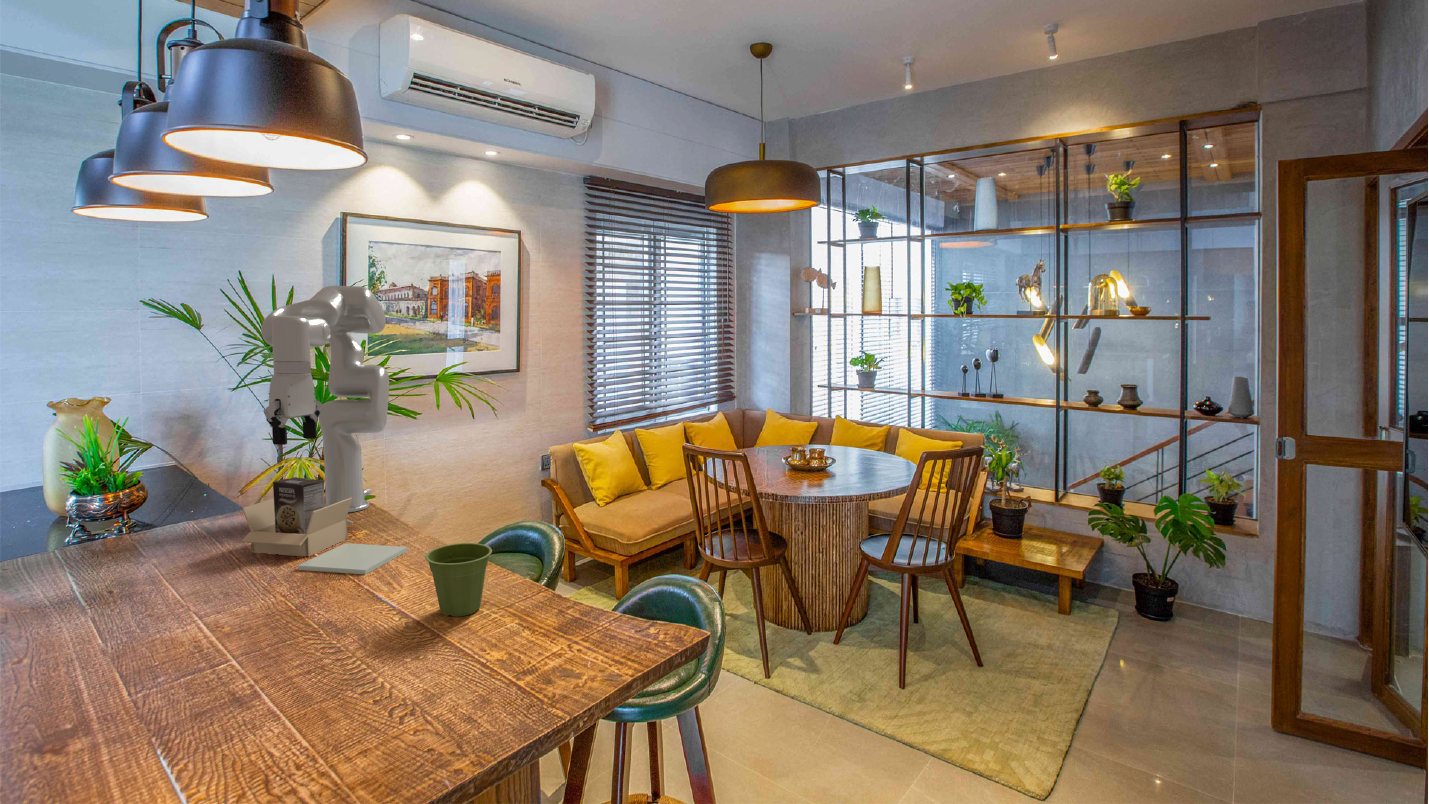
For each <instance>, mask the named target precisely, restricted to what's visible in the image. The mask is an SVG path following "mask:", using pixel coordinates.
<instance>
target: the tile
mask: <svg viewBox="0 0 1429 804" xmlns="http://www.w3.org/2000/svg"><path fill="white" fill-rule="evenodd" d="M408 551H409V550H408V546H400V545H399V546H397V545H385V544H384V545H382V544H381V545H380V544H367V543H366V544H364V543H351V542H350V543H348V542H345V543H343V544H341V545H338V546H337V547H334V548H332V549H331V550H327V551H326V552H324V553H321V554H319V555H317V556H314V557H313V558H310V559H309V560H308V559H307V560H306V561H304V562H302V563H300V564H297V570H298V571H307V572H323V573H325V572H326V573H339V574H352V575H365V576H366V575H367V574H369V573H371V572H372V571H375V570H377V569H378V568H380V567H382V566H384V565H386V564H387V563H388V562H390V561H392V559H393V560H394V559H397V558H398V557H400V556H402V555H403V554H405V553H407V552H408ZM401 554H402V555H401ZM397 556H398V557H397Z"/></svg>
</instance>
